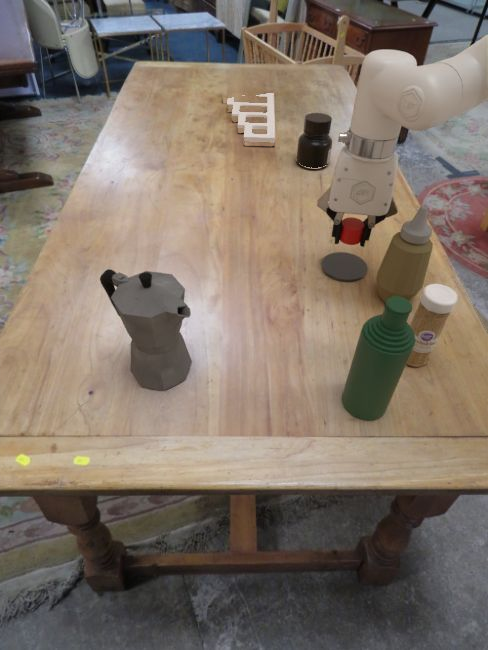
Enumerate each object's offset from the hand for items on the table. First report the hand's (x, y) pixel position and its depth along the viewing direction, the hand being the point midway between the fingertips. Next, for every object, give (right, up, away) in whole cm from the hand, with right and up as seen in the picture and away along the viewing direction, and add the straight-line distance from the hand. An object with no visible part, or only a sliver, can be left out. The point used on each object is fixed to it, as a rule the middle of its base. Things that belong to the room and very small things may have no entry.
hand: (349, 240), depth 81 cm
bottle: (-2, -27, -18) cm, 33 cm away
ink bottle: (-1, +28, +38) cm, 47 cm away
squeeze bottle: (+8, -11, -1) cm, 13 cm away
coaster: (0, -5, +4) cm, 6 cm away
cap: (0, 0, 0) cm, 1 cm away
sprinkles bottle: (+7, -21, -12) cm, 25 cm away
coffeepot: (-33, -22, -14) cm, 42 cm away
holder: (-19, +52, +61) cm, 82 cm away
